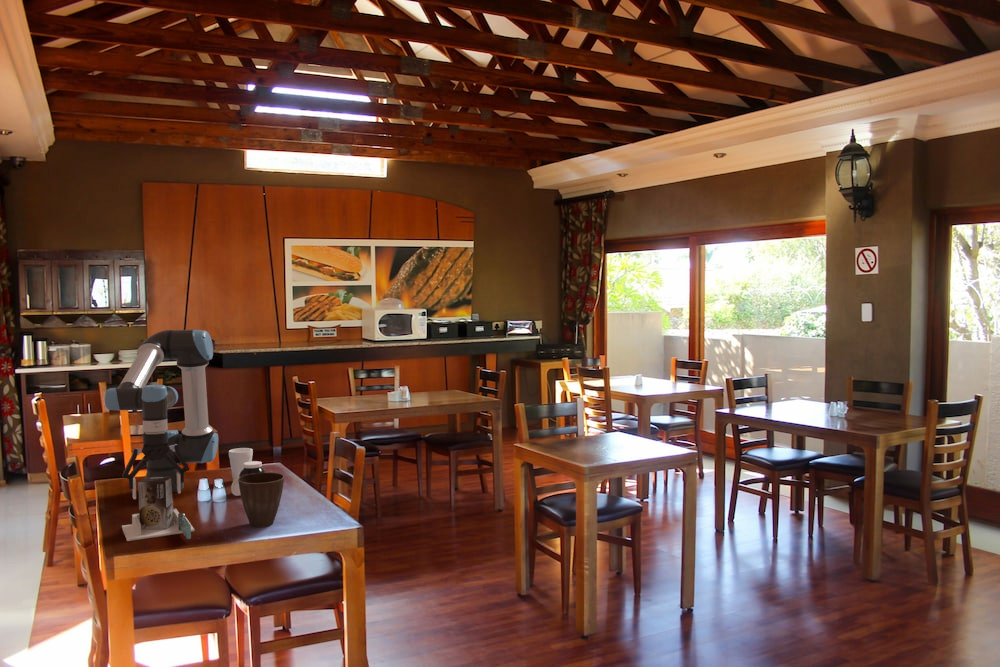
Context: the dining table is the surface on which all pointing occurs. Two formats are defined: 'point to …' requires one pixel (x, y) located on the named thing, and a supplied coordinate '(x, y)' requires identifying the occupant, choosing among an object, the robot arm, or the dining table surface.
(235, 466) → the foam cup
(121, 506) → the dining table surface
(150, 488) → the coffee box
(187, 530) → the ball knob lever
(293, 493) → the dining table surface
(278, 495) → the plant pot
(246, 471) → the spread jar
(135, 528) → the white shallow tray
